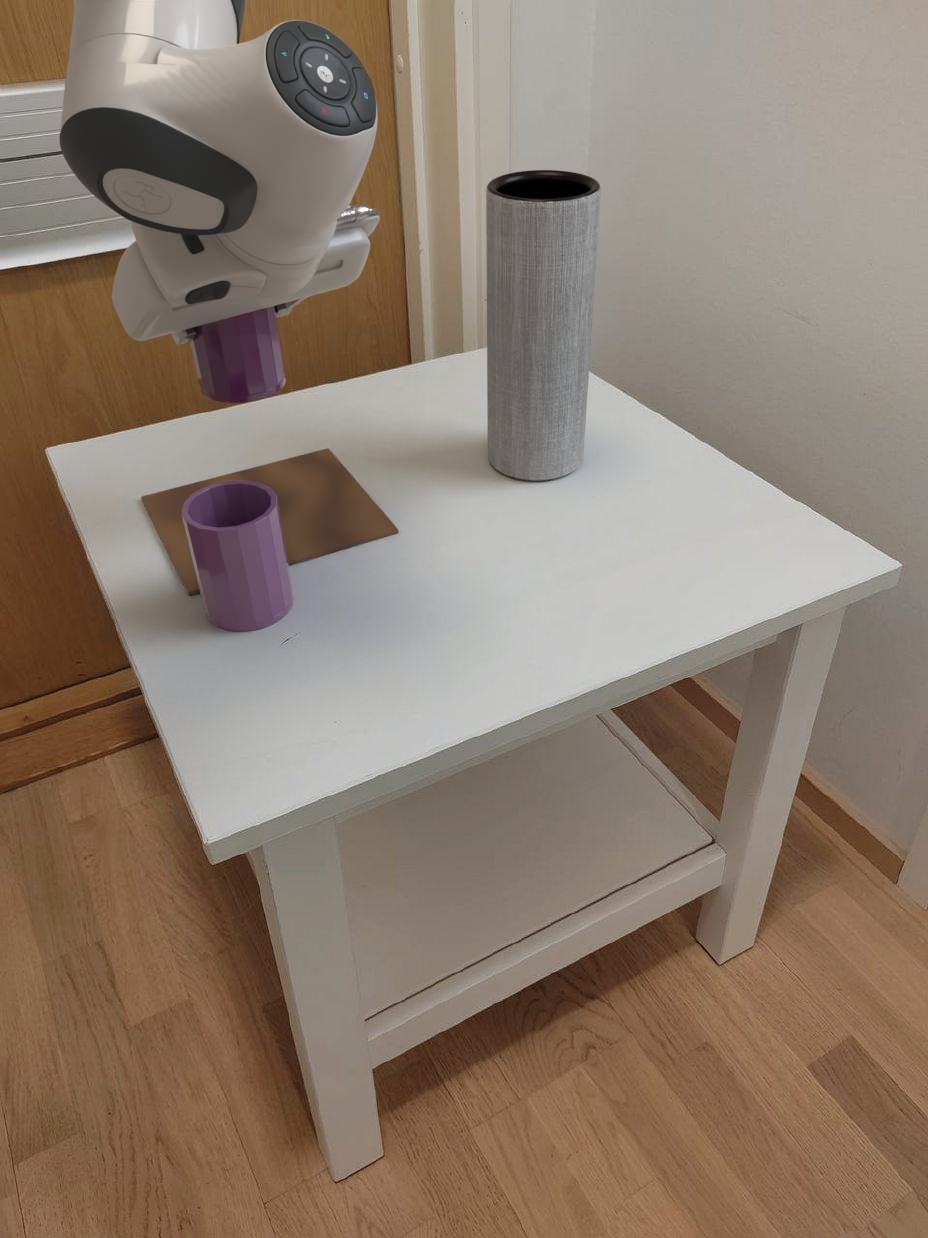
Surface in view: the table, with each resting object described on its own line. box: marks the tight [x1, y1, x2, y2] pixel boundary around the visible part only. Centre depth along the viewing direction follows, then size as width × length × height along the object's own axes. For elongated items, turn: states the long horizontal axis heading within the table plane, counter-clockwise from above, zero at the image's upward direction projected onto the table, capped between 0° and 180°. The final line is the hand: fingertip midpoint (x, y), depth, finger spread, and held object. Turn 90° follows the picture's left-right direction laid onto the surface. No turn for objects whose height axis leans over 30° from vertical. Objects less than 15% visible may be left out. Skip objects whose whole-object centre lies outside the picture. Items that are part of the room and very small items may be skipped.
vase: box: [485, 169, 602, 482], centre depth 92 cm, size 10×10×27 cm
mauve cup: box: [181, 480, 294, 632], centre depth 78 cm, size 7×7×10 cm
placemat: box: [140, 447, 399, 596], centre depth 92 cm, size 20×18×1 cm
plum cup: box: [189, 306, 287, 404], centre depth 81 cm, size 7×7×10 cm
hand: (229, 322), depth 81 cm, fingers closed on plum cup, 7 cm apart
